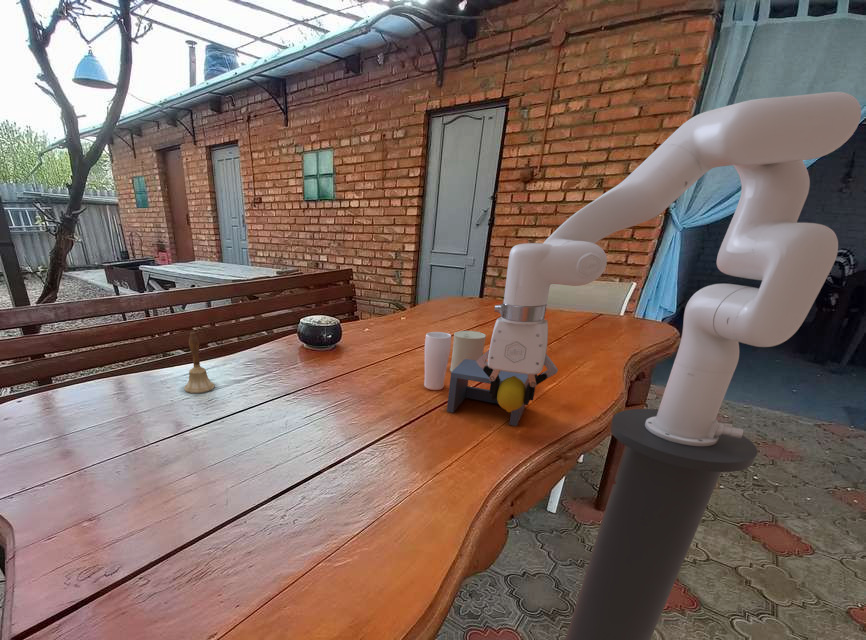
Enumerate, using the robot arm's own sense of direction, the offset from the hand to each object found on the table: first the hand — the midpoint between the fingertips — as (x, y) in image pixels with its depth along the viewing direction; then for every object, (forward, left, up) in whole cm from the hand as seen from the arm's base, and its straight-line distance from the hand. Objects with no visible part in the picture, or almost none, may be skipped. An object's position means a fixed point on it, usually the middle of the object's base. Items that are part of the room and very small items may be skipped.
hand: (510, 399), depth 88 cm
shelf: (+7, -13, -9) cm, 17 cm away
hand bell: (+80, +12, -9) cm, 81 cm away
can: (+19, -39, -9) cm, 44 cm away
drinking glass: (+23, -21, -9) cm, 32 cm away
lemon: (0, 0, -3) cm, 3 cm away
